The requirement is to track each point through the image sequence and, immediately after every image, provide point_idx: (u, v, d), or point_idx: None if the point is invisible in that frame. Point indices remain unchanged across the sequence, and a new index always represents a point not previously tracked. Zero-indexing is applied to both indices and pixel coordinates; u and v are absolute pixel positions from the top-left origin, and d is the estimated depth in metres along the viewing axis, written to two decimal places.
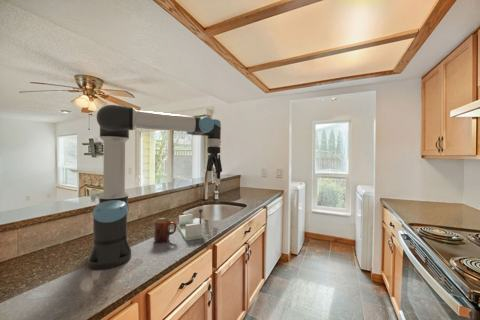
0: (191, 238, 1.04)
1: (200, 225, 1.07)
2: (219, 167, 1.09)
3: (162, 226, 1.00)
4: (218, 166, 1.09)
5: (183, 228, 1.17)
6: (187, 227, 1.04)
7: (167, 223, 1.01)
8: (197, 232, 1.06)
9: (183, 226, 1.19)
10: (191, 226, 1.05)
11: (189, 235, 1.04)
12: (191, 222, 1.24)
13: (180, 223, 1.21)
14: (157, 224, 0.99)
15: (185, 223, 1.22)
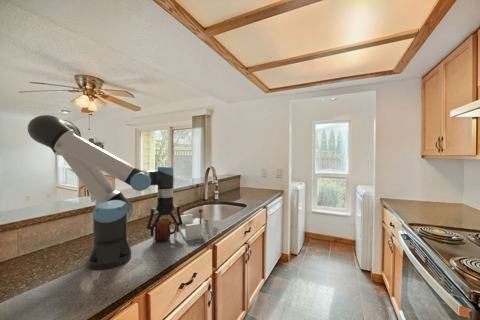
0: (191, 238, 1.04)
1: (200, 225, 1.07)
2: None
3: (163, 226, 1.00)
4: (148, 222, 1.00)
5: (183, 228, 1.17)
6: (187, 227, 1.04)
7: (168, 223, 1.01)
8: (197, 232, 1.06)
9: (183, 226, 1.19)
10: (191, 226, 1.05)
11: (189, 235, 1.04)
12: (191, 222, 1.24)
13: None
14: (158, 224, 0.99)
15: (185, 223, 1.22)
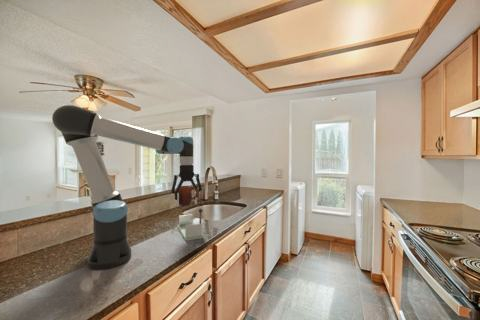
0: (191, 238, 1.04)
1: (200, 225, 1.07)
2: (172, 188, 1.09)
3: (185, 191, 1.09)
4: (172, 187, 1.10)
5: (183, 228, 1.17)
6: (187, 227, 1.04)
7: (189, 188, 1.10)
8: (197, 232, 1.06)
9: (183, 226, 1.19)
10: (191, 226, 1.05)
11: (189, 235, 1.04)
12: (191, 222, 1.24)
13: (180, 223, 1.21)
14: (181, 189, 1.09)
15: (185, 223, 1.22)
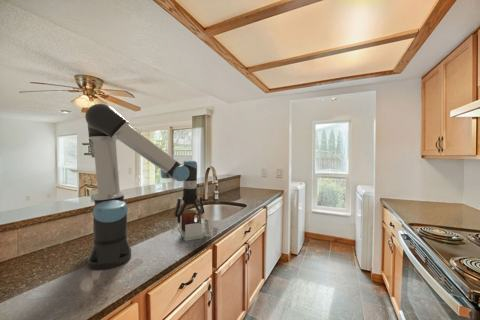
0: (191, 238, 1.04)
1: (200, 225, 1.07)
2: (175, 211, 1.11)
3: (188, 216, 1.11)
4: (175, 210, 1.12)
5: None
6: (187, 227, 1.04)
7: (192, 214, 1.12)
8: (197, 232, 1.06)
9: None
10: (191, 226, 1.05)
11: (189, 235, 1.04)
12: None
13: None
14: (184, 214, 1.11)
15: None
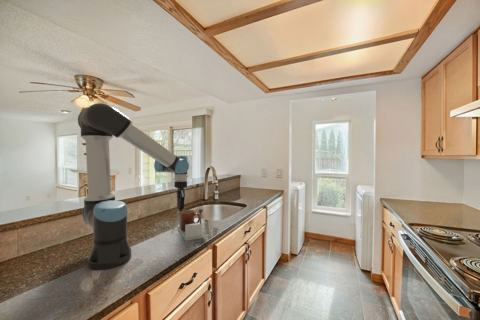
0: (191, 238, 1.04)
1: (200, 225, 1.07)
2: (181, 205, 1.19)
3: (188, 216, 1.11)
4: (180, 205, 1.19)
5: None
6: (187, 227, 1.04)
7: (192, 214, 1.12)
8: (197, 232, 1.06)
9: None
10: (191, 226, 1.05)
11: (189, 235, 1.04)
12: None
13: (180, 223, 1.20)
14: (183, 214, 1.11)
15: None
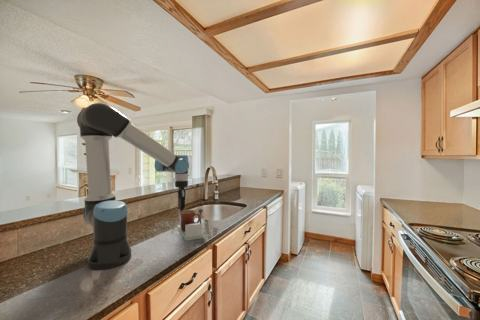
0: (191, 238, 1.04)
1: (200, 225, 1.07)
2: (182, 205, 1.19)
3: (188, 216, 1.11)
4: (181, 204, 1.18)
5: None
6: (187, 227, 1.04)
7: (192, 214, 1.12)
8: (197, 232, 1.06)
9: None
10: (191, 226, 1.05)
11: (189, 235, 1.04)
12: None
13: None
14: (183, 214, 1.11)
15: None
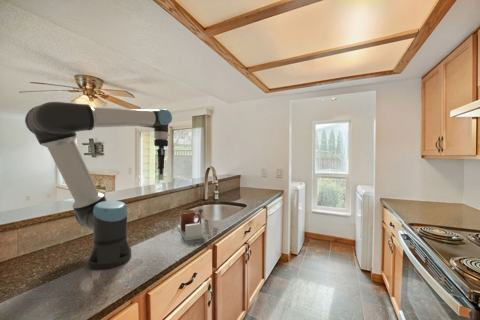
0: (191, 238, 1.04)
1: (200, 225, 1.07)
2: (161, 164, 1.14)
3: (188, 216, 1.11)
4: (160, 163, 1.14)
5: None
6: (187, 227, 1.04)
7: (192, 214, 1.12)
8: (197, 232, 1.06)
9: None
10: (191, 226, 1.05)
11: (189, 235, 1.04)
12: None
13: None
14: (183, 214, 1.11)
15: None
